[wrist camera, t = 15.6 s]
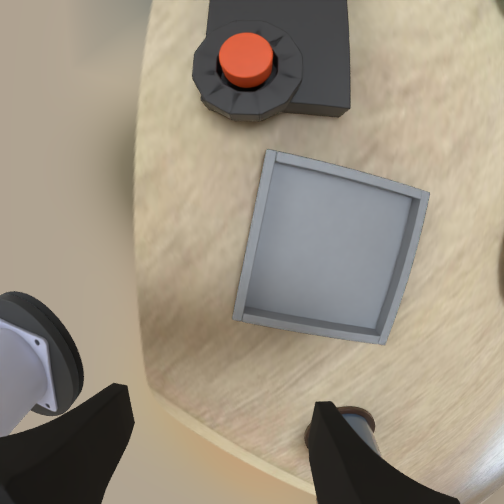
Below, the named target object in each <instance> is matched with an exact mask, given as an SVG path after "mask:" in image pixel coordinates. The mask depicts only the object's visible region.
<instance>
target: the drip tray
mask: <svg viewBox="0 0 504 504" xmlns="http://www.w3.org/2000/svg"><path fill="white" fill-rule="evenodd" d="M429 196H430V192H427V191H424V190H421V189H418V188H415V187H411V186H408V185H405V184H402V183H399V182H396V181H392V180H389V179H386V178H382V177H379V176H375V175H372V174H368V173H365V172H361V171H358V170H354V169H350V168H347V167H343V166H339V165H335V164H331V163H327V162H323V161H319V160H315V159H311V158H307V157H302V156H298V155H293V154H289V153H284V152H280V151H278V152H277V151H275V150H270V149H267V150H266V154H265V159H264V164H263V169H262V173H261V178H260V183H259V188H258V193H257V198H256V203H255V207H254V212H253V217H252V222H251V227H250V232H249V237H248V242H247V247H246V252H245V257H244V262H243V267H242V271H241V276H240V281H239V286H238V291H237V296H236V301H235V306H234V311H233V316H232V320H236V321H242V322H246V323H251V324H256V325H261V326H266V327H272V328H277V329H283V330H288V331H294V332H300V333H306V334H312V335H318V336H324V337H330V338H337V339H344V340H351V341H358V342H365V343H372V344H380V345H385V344H386V341H387V339H388V336H389V334H390V331H391V328H392V325H393V323H394V320H395V317H396V314H397V311H398V308H399V306H400V303H401V300H402V297H403V293H404V290H405V287H406V284H407V281H408V278H409V274H410V271H411V268H412V264H413V261H414V257H415V254H416V250H417V246H418V242H419V239H420V235H421V231H422V227H423V223H424V218H425V214H426V210H427V205H428V201H429Z"/></svg>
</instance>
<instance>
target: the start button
mask: <svg viewBox="0 0 504 504" xmlns="http://www.w3.org/2000/svg"><path fill="white" fill-rule="evenodd" d="M219 61H220V64H221V67H222V70H223V72H224V75H225V77H226V78H227V79H228V80H229V81H230V82H231V83H232V84H234V85H236V86H238V87H242V88H252V87H256V86H258V85H260V84H262V83H264V82H265V81H266V80H267V79H268V78H269V76H270V74H271V71H272V63H273V51H272V48H271V46H270V44H269V43H268V41H267V40H266V39H264V38H263V37H261V36H259V35H257V34H254V33H239V34H236V35H233V36H232V37H230V38H228V39H227V40H226V41H225V42H224V43H223V45H222V46H221V48H220V51H219Z"/></svg>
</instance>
